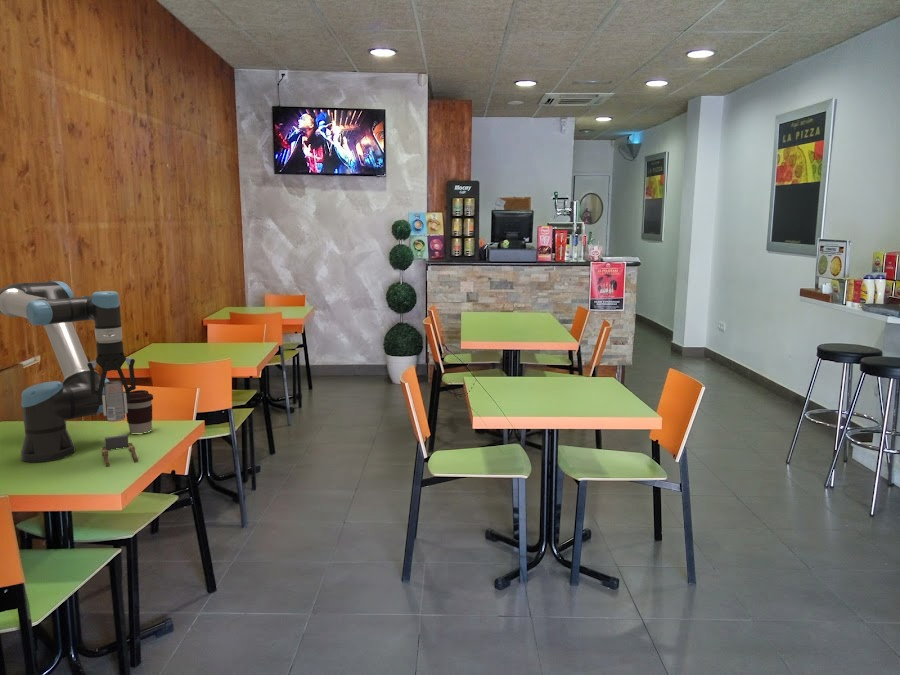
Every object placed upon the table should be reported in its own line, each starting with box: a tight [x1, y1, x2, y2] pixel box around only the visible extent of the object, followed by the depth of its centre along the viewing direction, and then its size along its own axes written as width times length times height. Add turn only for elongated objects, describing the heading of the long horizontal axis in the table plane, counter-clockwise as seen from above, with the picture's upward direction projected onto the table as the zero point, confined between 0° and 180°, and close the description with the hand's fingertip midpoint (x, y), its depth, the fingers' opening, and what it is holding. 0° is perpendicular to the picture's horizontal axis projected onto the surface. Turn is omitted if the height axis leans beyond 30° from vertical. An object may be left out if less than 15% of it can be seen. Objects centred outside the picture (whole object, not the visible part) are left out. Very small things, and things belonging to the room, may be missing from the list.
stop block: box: [104, 434, 129, 451], centre depth 233 cm, size 7×2×4 cm, turn 119°
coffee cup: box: [125, 389, 154, 433], centre depth 251 cm, size 10×10×15 cm
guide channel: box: [101, 442, 139, 468], centre depth 224 cm, size 10×20×1 cm, turn 29°
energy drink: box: [104, 380, 126, 422], centre depth 220 cm, size 5×5×12 cm
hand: (115, 413), depth 221 cm, fingers closed on energy drink, 5 cm apart
